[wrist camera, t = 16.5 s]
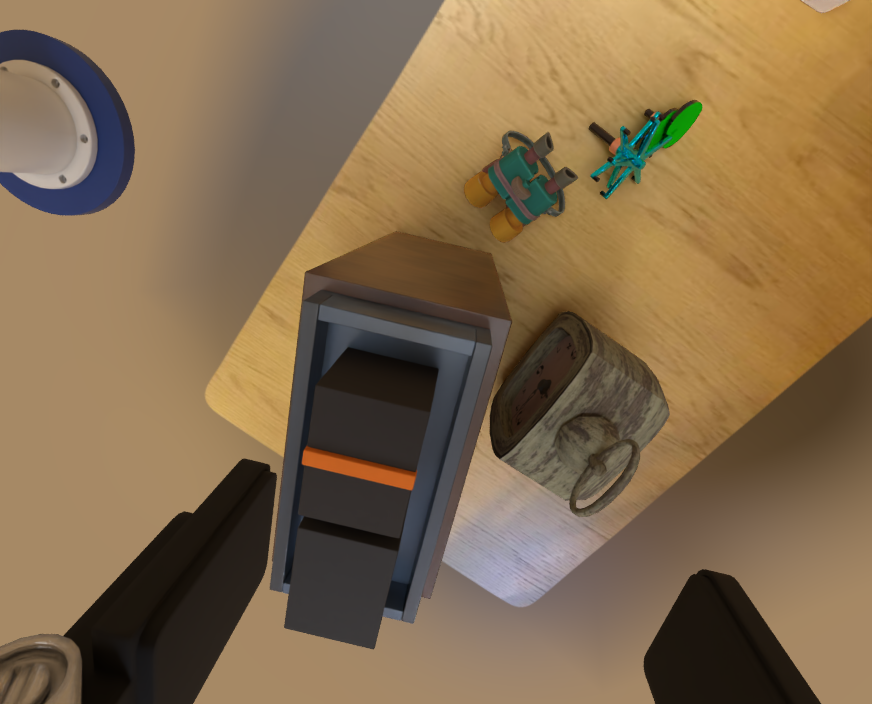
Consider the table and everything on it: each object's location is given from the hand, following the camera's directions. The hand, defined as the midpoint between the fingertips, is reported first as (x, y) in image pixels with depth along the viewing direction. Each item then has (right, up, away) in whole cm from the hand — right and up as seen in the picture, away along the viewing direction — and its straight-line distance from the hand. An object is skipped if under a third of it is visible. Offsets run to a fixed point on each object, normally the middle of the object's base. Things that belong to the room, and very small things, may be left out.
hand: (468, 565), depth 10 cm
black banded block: (-4, +1, +15) cm, 15 cm away
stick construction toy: (+19, +26, +34) cm, 47 cm away
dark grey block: (-5, -6, +17) cm, 19 cm away
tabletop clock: (+13, +3, +43) cm, 45 cm away
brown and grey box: (-2, +8, +43) cm, 43 cm away
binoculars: (+8, +22, +37) cm, 44 cm away
